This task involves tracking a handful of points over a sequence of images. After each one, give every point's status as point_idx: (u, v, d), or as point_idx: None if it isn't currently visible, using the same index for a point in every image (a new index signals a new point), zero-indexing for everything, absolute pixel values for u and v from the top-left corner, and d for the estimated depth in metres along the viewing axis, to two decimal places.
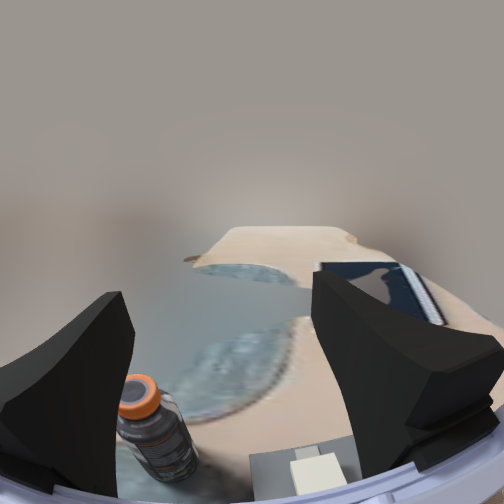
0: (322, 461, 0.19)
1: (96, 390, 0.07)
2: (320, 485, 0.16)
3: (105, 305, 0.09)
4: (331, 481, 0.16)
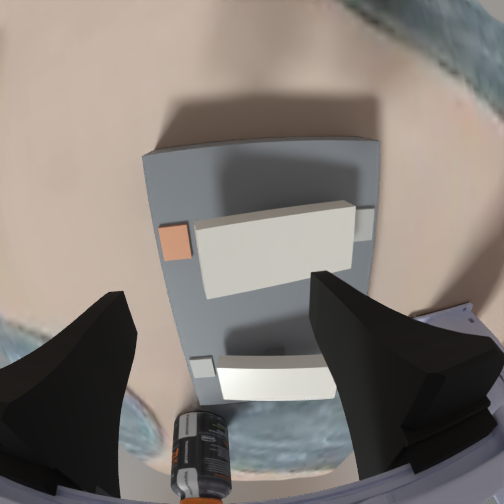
0: (230, 379, 0.19)
1: (99, 390, 0.07)
2: (266, 386, 0.19)
3: (107, 305, 0.09)
4: (262, 378, 0.19)
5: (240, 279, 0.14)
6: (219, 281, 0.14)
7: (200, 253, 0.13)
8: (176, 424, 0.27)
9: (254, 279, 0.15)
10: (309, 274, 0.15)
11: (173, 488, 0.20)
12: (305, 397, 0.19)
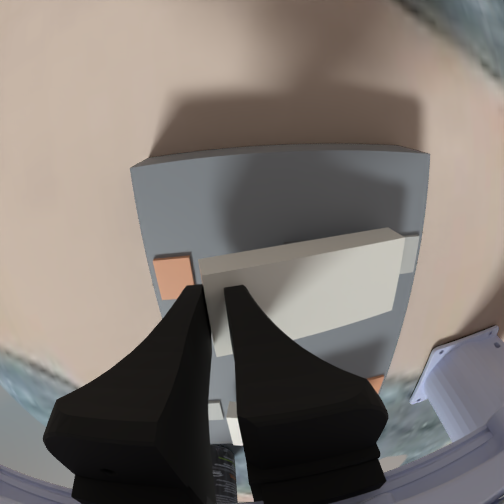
0: None
1: (198, 390, 0.07)
2: None
3: (198, 298, 0.09)
4: None
5: None
6: None
7: (208, 304, 0.10)
8: None
9: None
10: (344, 321, 0.12)
11: None
12: None
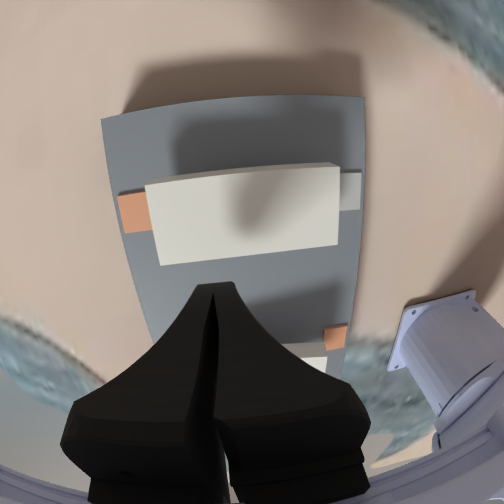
0: None
1: (213, 389, 0.07)
2: None
3: (210, 298, 0.09)
4: None
5: (196, 244, 0.13)
6: (172, 245, 0.12)
7: (150, 212, 0.12)
8: None
9: (213, 246, 0.13)
10: (282, 246, 0.13)
11: None
12: None
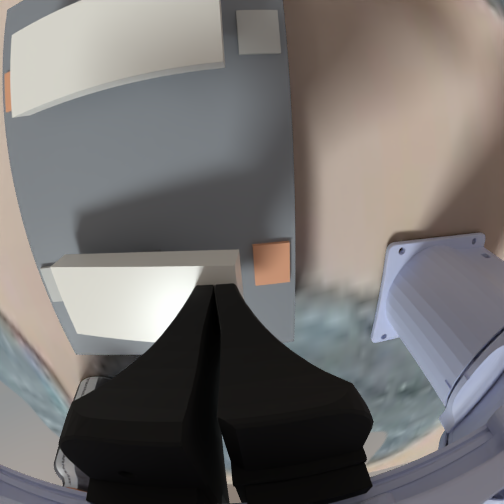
0: (70, 291, 0.11)
1: (212, 389, 0.07)
2: (120, 308, 0.11)
3: (209, 298, 0.09)
4: (109, 290, 0.11)
5: (43, 83, 0.07)
6: (23, 90, 0.07)
7: (11, 59, 0.06)
8: None
9: (58, 81, 0.07)
10: (137, 68, 0.07)
11: (55, 471, 0.13)
12: None
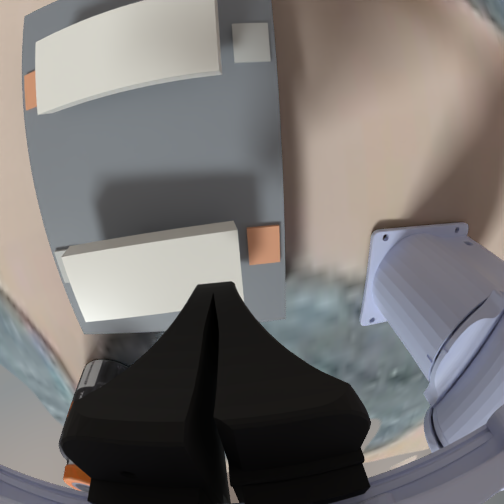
0: (82, 277, 0.12)
1: (213, 389, 0.07)
2: (134, 285, 0.13)
3: (210, 298, 0.09)
4: (125, 268, 0.12)
5: (66, 86, 0.09)
6: (48, 91, 0.09)
7: (36, 63, 0.08)
8: None
9: (79, 85, 0.09)
10: (147, 76, 0.09)
11: (60, 450, 0.14)
12: None
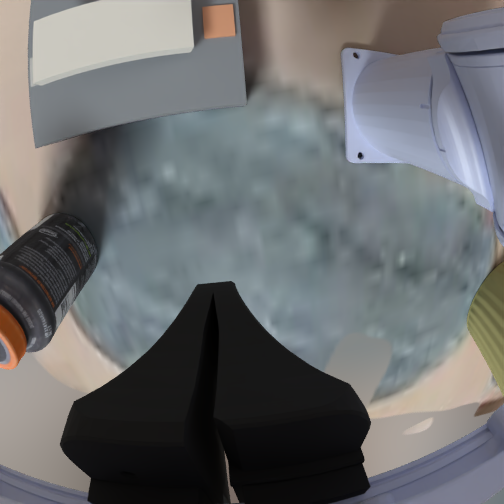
0: (46, 35, 0.08)
1: (213, 389, 0.07)
2: (91, 33, 0.09)
3: (210, 297, 0.09)
4: (87, 19, 0.09)
5: None
6: None
7: None
8: None
9: None
10: None
11: None
12: (148, 46, 0.11)
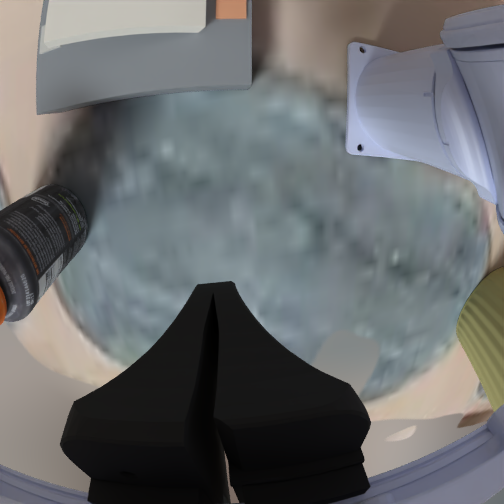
0: None
1: (213, 389, 0.07)
2: (109, 1, 0.09)
3: (210, 297, 0.09)
4: None
5: None
6: None
7: None
8: None
9: None
10: None
11: None
12: (163, 20, 0.10)
